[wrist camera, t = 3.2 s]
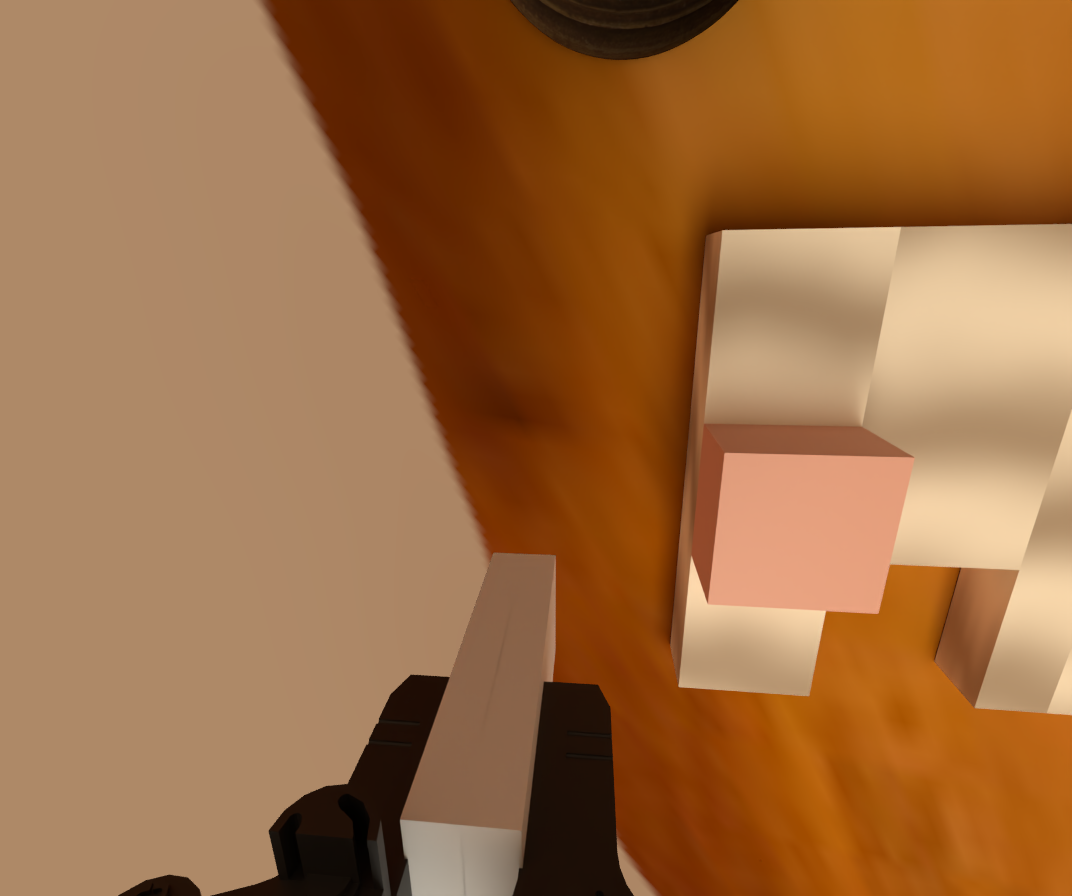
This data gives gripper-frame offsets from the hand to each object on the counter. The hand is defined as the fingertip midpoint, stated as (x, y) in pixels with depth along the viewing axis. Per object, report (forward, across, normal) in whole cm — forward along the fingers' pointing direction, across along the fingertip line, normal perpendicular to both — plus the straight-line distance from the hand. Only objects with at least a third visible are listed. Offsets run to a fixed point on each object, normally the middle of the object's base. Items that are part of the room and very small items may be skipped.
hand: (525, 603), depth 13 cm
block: (+7, +8, 0) cm, 10 cm away
